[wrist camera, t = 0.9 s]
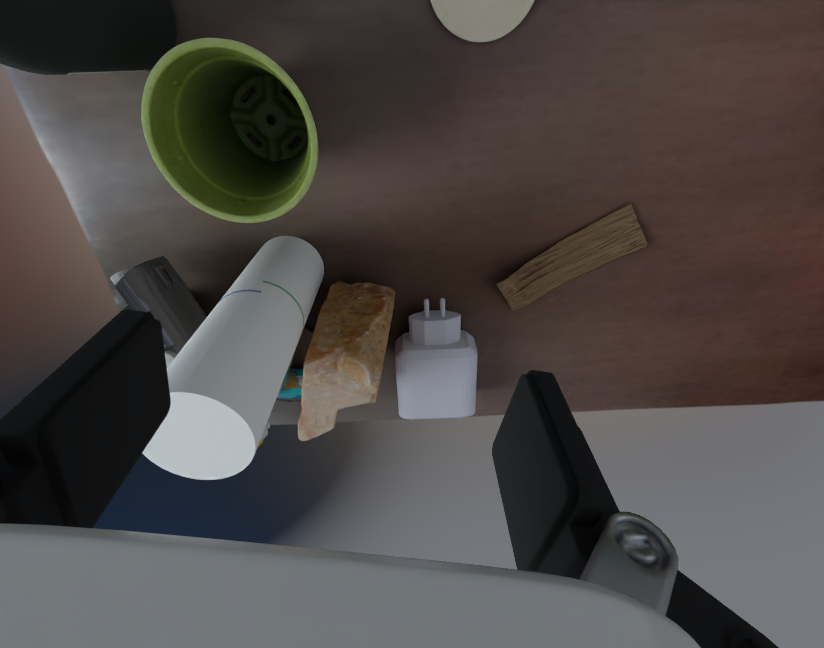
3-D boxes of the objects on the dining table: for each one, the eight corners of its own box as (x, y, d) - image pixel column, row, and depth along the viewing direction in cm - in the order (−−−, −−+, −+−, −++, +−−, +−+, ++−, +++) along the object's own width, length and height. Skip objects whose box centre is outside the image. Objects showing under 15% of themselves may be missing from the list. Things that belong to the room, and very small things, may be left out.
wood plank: (637, 206, 42) (653, 248, 44) (628, 201, 44) (643, 242, 46) (495, 283, 46) (515, 318, 48) (492, 275, 48) (512, 310, 50)
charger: (474, 286, 49) (471, 391, 56) (391, 290, 49) (399, 394, 56) (480, 307, 44) (476, 417, 52) (390, 311, 45) (399, 420, 52)
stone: (367, 383, 54) (352, 469, 41) (299, 353, 53) (259, 432, 39) (421, 286, 49) (425, 348, 35) (348, 250, 47) (322, 299, 34)
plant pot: (198, 160, 41) (134, 189, 32) (217, 18, 36) (147, 2, 26) (319, 205, 44) (295, 245, 34) (356, 78, 38) (338, 84, 28)
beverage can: (331, 320, 50) (319, 360, 44) (337, 400, 57) (327, 446, 50) (226, 318, 50) (197, 358, 43) (244, 398, 56) (221, 445, 49)
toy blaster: (204, 490, 51) (277, 487, 42) (66, 307, 45) (117, 258, 36) (240, 457, 55) (313, 448, 46) (119, 286, 50) (175, 238, 40)
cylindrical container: (252, 234, 45) (112, 390, 24) (321, 236, 45) (245, 393, 24) (262, 295, 49) (148, 478, 27) (326, 297, 49) (263, 480, 28)
